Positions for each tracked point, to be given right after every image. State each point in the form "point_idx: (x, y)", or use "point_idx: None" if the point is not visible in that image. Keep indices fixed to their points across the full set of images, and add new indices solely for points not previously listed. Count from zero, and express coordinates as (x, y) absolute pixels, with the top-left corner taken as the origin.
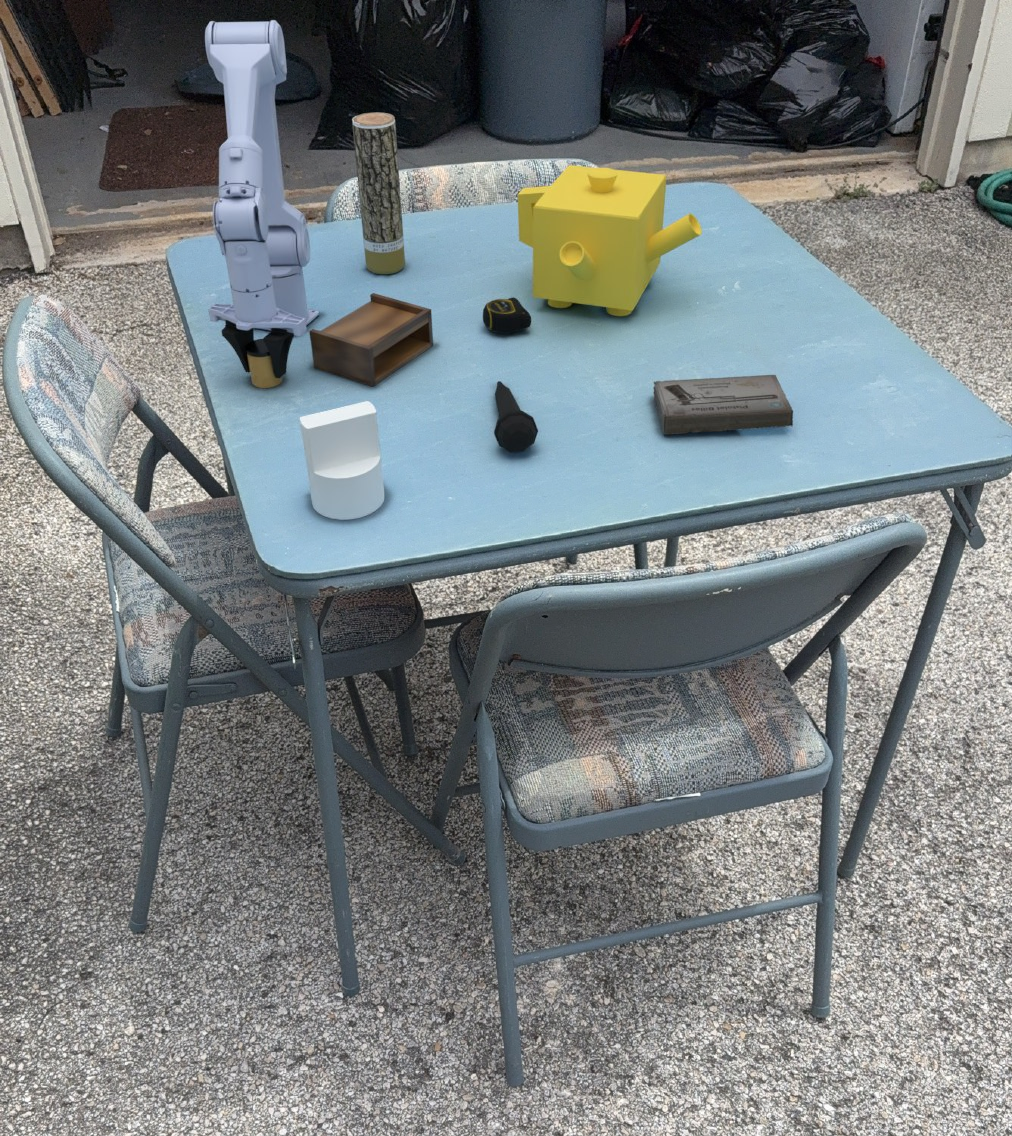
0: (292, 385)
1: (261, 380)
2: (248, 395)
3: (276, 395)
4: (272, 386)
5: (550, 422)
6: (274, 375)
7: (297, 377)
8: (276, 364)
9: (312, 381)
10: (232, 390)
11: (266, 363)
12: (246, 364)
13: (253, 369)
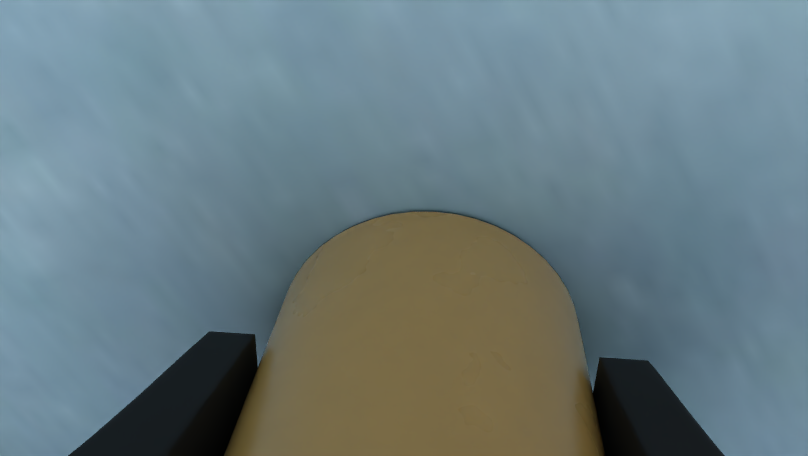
0: (158, 326)
1: (387, 260)
2: (475, 33)
3: (179, 123)
4: (310, 258)
5: None
6: (265, 355)
7: None
8: (103, 443)
9: (47, 416)
10: (715, 83)
11: (255, 439)
12: (625, 424)
13: (473, 343)
